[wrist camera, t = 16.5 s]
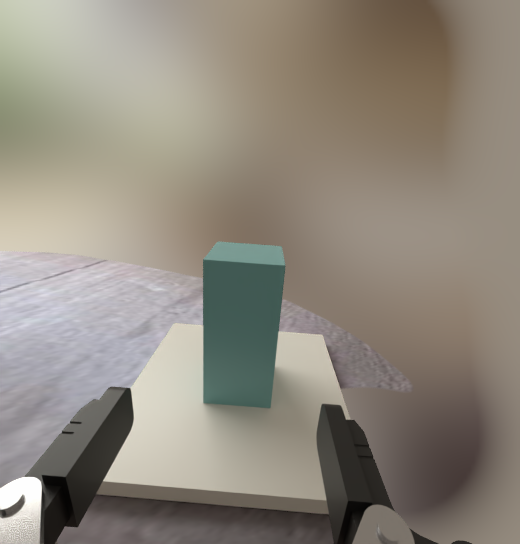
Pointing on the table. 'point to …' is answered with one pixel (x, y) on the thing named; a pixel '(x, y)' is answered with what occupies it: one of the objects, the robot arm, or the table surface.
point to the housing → (241, 322)
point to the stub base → (227, 431)
